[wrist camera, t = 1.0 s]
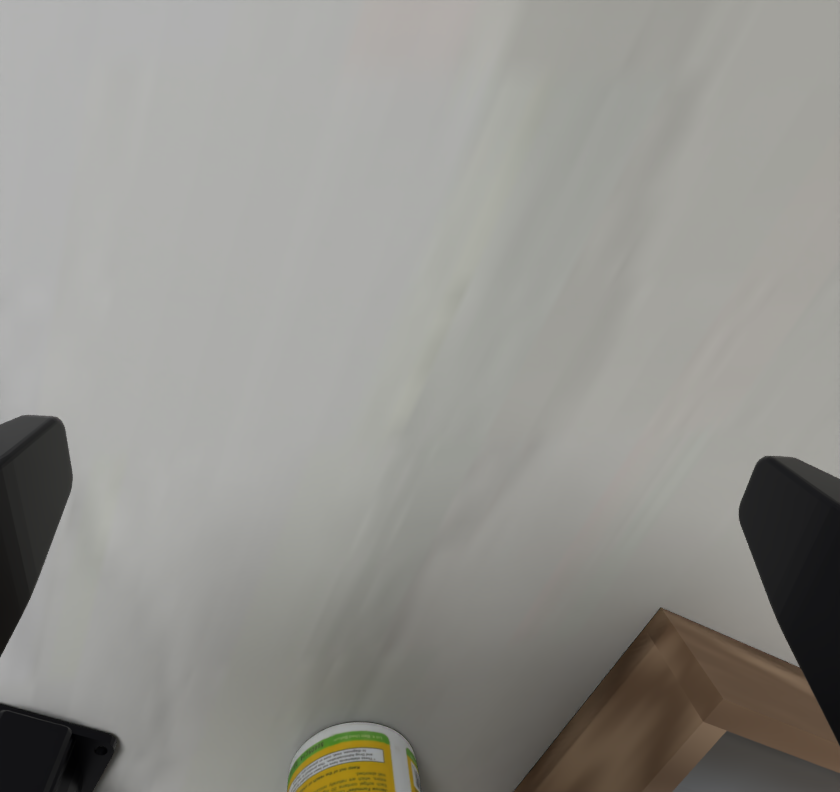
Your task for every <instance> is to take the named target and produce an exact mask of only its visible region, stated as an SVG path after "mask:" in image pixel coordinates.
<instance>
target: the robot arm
mask: <svg viewBox="0 0 840 792" xmlns="http://www.w3.org/2000/svg"><path fill="white" fill-rule="evenodd" d="M72 480H73V474H72V467H71V461H70V455H69V449H68V443H67V437H66V431H65V427H64V425H63V423H62V421H61V420H60V419H59V418H57V417H54V416H38V415H23V416H20V417H17V418H15V419H13V420H10V421H8V422H5V423H3V424H1V425H0V657H1V655H2V653H3V651H4V649H5V647H6V645H7V643H8V641H9V639H10V638H11V636H12V634H13V632H14V630H15V628H16V626H17V624H18V622H19V620H20V618H21V616H22V614H23V612H24V610H25V608H26V606H27V604H28V602H29V600H30V598H31V595H32V593H33V590H34V588H35V586H36V583H37V581H38V578H39V575H40V573H41V570H42V567H43V565H44V562H45V559H46V557H47V554H48V551H49V549H50V546H51V543H52V541H53V538H54V535H55V532H56V530H57V527H58V524H59V522H60V519H61V516H62V514H63V511H64V508H65V506H66V503H67V500H68V498H69V495H70V492H71V488H72ZM739 520H740V524H741V527H742V530H743V532H744V535H745V538H746V540H747V543H748V546H749V548H750V551H751V554H752V556H753V559H754V562H755V564H756V567H757V569H758V572H759V575H760V577H761V580H762V583H763V585H764V588H765V591H766V593H767V596H768V599H769V601H770V604H771V606H772V609H773V611H774V614H775V616H776V619H777V621H778V623H779V625H780V627H781V630H782V632H783V634H784V636H785V638H786V640H787V642H788V644H789V646H790V648H791V650H792V652H793V654H794V656H795V658H796V660H797V662H798V664H799V666H800V668H801V670H802V672H803V674H804V676H805V678H806V680H807V682H808V684H809V686H810V688H811V690H812V692H813V694H814V696H815V698H816V700H817V702H818V704H819V706H820V708H821V710H822V712H823V714H824V716H825V718H826V720H827V722H828V724H829V726H830V728H831V730H832V732H833V734H834V736H835V738H836V740H837V742H838V744H839V746H840V479H839V478H837V477H834V476H832V475H830V474H828V473H826V472H824V471H822V470H820V469H818V468H816V467H813V466H811V465H809V464H807V463H805V462H803V461H801V460H799V459H796V458H793V457H782V456H765V457H763V458H761V459H760V460H759V461H758V462H757V463H756V465H755V468H754V470H753V473H752V475H751V478H750V480H749V483H748V485H747V488H746V490H745V493H744V495H743V498H742V500H741V503H740V507H739ZM116 743H117V741H116V739H115V738H114V737H113V736H112V735H110V734H107V733H103V732H100V731H96V730H92V729H89V728H85V727H81V726H78V725H74V724H70V723H67V722H63V721H59V720H56V719H52V718H48V717H45V716H41V715H37V714H34V713H30V712H26V711H23V710H19V709H15V708H12V707H8V706H4V705H1V704H0V792H93V790H94V788H95V786H96V784H97V783H98V781H99V779H100V777H101V775H102V773H103V772H104V770H105V768H106V766H107V764H108V763H109V761H110V759H111V757H112V755H113V753H114V750H115V747H116ZM101 746H104V747H101Z"/></svg>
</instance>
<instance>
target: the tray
mask: <svg viewBox="0 0 840 792" xmlns="http://www.w3.org/2000/svg"><path fill="white" fill-rule="evenodd" d="M514 792H840V746H839V744H838V742H837V740H836V738H835V736H834V734H833V732H832V730H831V728H830V726H829V724H828V722H827V720H826V718H825V716H824V714H823V712H822V710H821V708H820V706H819V704H818V702H817V700H816V698H815V696H814V694H813V692H812V690H811V688H810V686H809V684H808V682H807V680H806V678H805V676H804V674H803V672H802V670H801V668H799V667H797V666H795V665H792V664H790V663H788V662H785V661H783V660H781V659H778V658H776V657H774V656H771V655H769V654H767V653H765V652H762V651H760V650H758V649H755V648H753V647H751V646H748V645H746V644H744V643H741V642H739V641H737V640H735V639H732V638H730V637H728V636H725V635H723V634H721V633H718V632H716V631H714V630H711V629H709V628H707V627H705V626H702V625H700V624H698V623H695V622H693V621H691V620H688V619H686V618H684V617H682V616H679V615H677V614H675V613H672V612H670V611H668V610H665V609H663V608H660V609H659V611H658V612H657V613H656V614H655V616H654V617H653V618H652V619H651V621H650V622H649V623H648V624H647V626H646V627H645V628H644V629H643V631H642V632H641V633H640V634H639V636H638V637H637V638H636V639H635V641H634V642H633V643H632V644H631V646H630V647H629V648H628V649H627V651H626V652H625V653H624V654H623V656H622V657H621V658H620V659H619V661H618V662H617V663H616V664H615V666H614V667H613V668H612V669H611V671H610V672H609V673H608V674H607V676H606V677H605V678H604V679H603V681H602V682H601V683H600V684H599V686H598V687H597V688H596V689H595V691H594V692H593V693H592V694H591V696H590V697H589V698H588V699H587V701H586V702H585V703H584V704H583V706H582V707H581V708H580V709H579V711H578V712H577V713H576V714H575V716H574V717H573V718H572V719H571V721H570V722H569V723H568V724H567V726H566V727H565V728H564V729H563V731H562V732H561V733H560V734H559V736H558V737H557V738H556V739H555V741H554V742H553V743H552V744H551V746H550V747H549V748H548V749H547V751H546V752H545V753H544V754H543V756H542V757H541V758H540V759H539V761H538V762H537V763H536V764H535V766H534V767H533V768H532V769H531V771H530V772H529V773H528V774H527V776H526V777H525V778H524V779H523V781H522V782H521V783H520V784H519V786H518V787H517V788H516V789H515V791H514Z"/></svg>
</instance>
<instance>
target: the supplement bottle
mask: <svg viewBox="0 0 840 792" xmlns="http://www.w3.org/2000/svg"><path fill="white" fill-rule="evenodd" d="M287 792H422V791H421V785H420V778H419V772H418V766H417V762H416V757H415V754H414V751H413V749H412V747H411V745H410V744H409V742H408V741H407V740H406V739H405V738H404V737H403V736H402V735H401V734H399V733H398V732H396V731H395V730H393V729H391V728H388V727H386V726H383V725H379V724H375V723H368V722H351V723H344V724H339V725H335V726H332V727H329V728H327V729H325V730H323V731H321V732H319V733H317V734H316V735H314V736H313V737H311V738H310V739H309V740H307V741H306V742H305V743H304V744H303V745H302V746H301V747H300V749H299V750H298V751H297V753H296V754H295V756H294V758H293V760H292V762H291V765H290V769H289V775H288V787H287Z"/></svg>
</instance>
